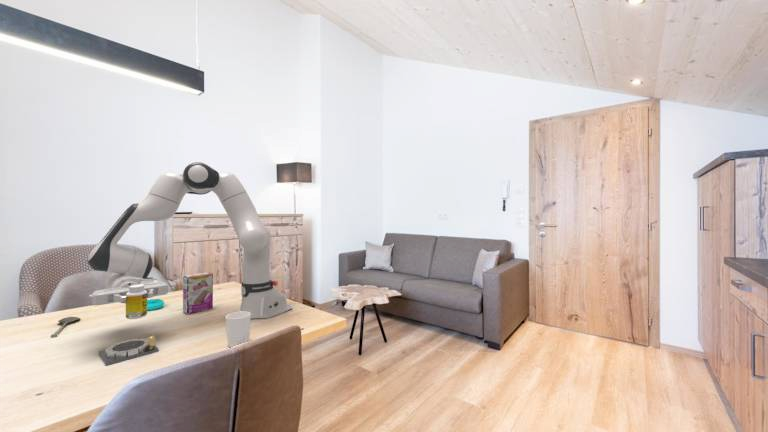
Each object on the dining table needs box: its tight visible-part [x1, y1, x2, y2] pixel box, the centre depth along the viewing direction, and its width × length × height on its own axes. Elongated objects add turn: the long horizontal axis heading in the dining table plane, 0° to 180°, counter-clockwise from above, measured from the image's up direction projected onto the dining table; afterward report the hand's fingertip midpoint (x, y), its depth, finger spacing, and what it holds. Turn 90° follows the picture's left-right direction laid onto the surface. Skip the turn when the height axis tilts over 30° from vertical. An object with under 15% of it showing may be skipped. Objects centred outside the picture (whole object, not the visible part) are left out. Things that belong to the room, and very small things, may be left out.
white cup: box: [225, 311, 252, 348], centre depth 110 cm, size 8×8×10 cm
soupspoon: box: [50, 316, 81, 339], centre depth 125 cm, size 22×3×7 cm
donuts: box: [147, 298, 165, 312], centre depth 150 cm, size 10×10×10 cm
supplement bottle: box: [125, 284, 148, 320], centre depth 105 cm, size 6×6×10 cm
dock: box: [98, 334, 160, 366], centre depth 104 cm, size 13×12×5 cm
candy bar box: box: [182, 272, 214, 315], centre depth 147 cm, size 11×5×16 cm, turn 144°
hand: (137, 297), depth 105 cm, fingers closed on supplement bottle, 5 cm apart
